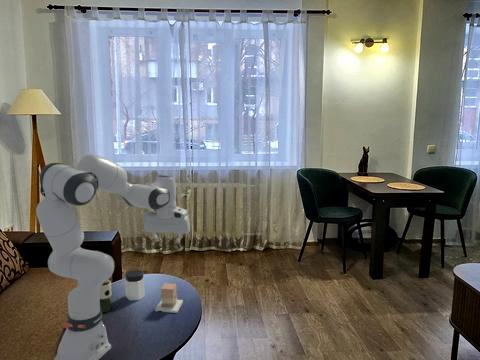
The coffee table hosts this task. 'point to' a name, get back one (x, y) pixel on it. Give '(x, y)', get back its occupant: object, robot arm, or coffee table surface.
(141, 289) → the jar
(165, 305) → the maple block
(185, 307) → the coffee table surface
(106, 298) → the character mug
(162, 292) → the terracotta block
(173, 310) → the base plate
